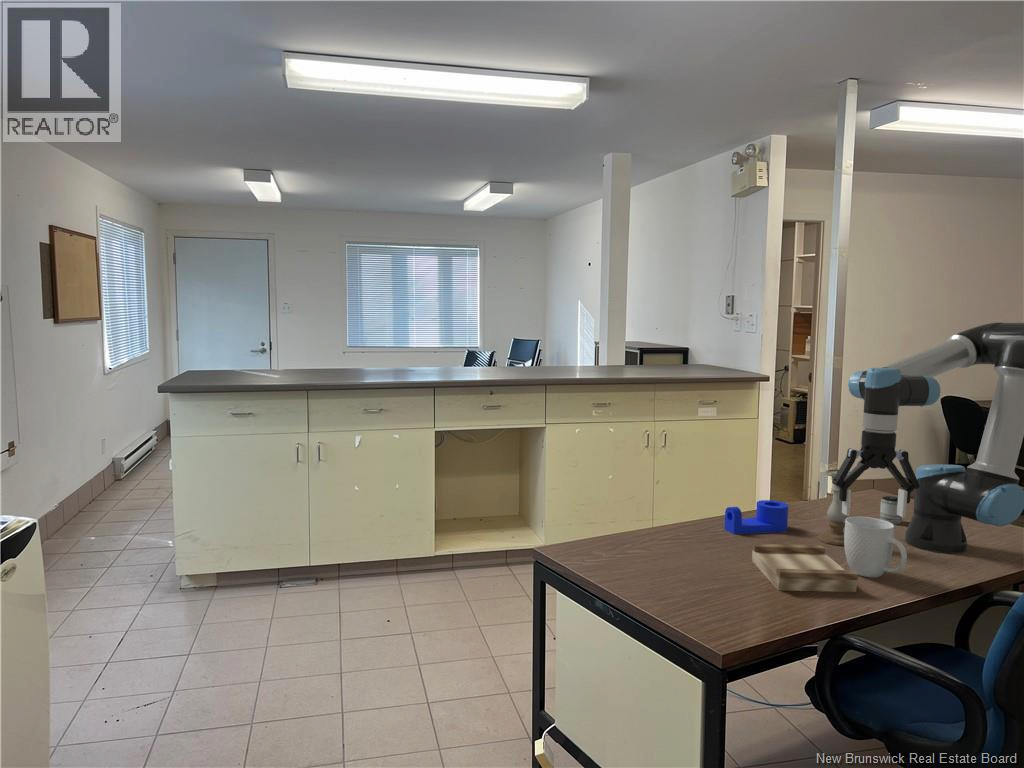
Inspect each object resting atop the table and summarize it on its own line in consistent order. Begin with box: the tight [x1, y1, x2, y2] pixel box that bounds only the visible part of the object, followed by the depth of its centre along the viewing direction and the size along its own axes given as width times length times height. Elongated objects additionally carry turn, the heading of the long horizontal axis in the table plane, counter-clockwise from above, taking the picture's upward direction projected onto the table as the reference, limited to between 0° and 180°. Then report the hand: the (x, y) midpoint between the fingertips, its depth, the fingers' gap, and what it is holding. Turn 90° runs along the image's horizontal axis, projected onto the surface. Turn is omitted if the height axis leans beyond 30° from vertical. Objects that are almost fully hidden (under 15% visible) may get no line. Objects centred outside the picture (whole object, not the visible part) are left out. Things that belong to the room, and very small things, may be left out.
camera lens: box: [879, 495, 903, 525], centre depth 219 cm, size 6×6×8 cm
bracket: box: [724, 499, 789, 535], centre depth 210 cm, size 20×9×8 cm, turn 107°
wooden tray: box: [751, 543, 859, 593], centre depth 172 cm, size 18×21×4 cm
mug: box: [843, 516, 908, 578], centre depth 172 cm, size 15×11×13 cm
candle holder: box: [819, 468, 851, 546], centre depth 199 cm, size 9×9×20 cm
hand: (873, 515), depth 172 cm, fingers open, 13 cm apart
